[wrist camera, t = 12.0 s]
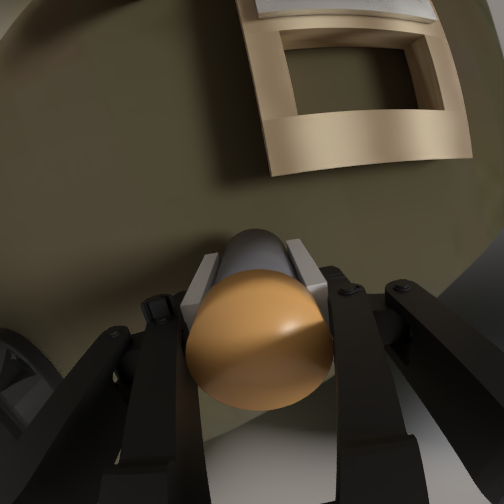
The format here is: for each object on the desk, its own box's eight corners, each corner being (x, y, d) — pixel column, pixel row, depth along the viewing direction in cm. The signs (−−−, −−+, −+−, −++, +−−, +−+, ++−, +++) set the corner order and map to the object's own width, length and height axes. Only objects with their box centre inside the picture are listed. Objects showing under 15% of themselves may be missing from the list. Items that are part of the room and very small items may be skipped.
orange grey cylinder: (224, 298, 19) (202, 413, 9) (212, 228, 18) (169, 302, 8) (295, 290, 19) (331, 401, 9) (289, 219, 18) (334, 284, 8)
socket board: (270, 174, 19) (272, 176, 16) (223, -46, 14) (218, -70, 10) (445, 156, 18) (472, 157, 15) (382, -46, 13) (395, -65, 9)
